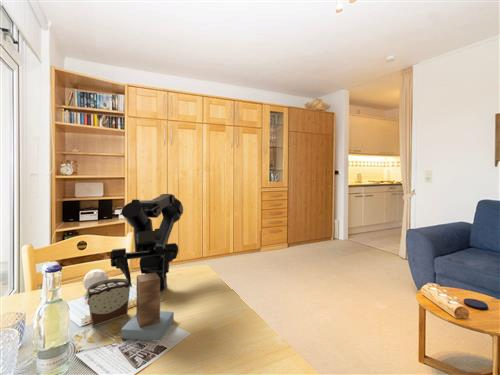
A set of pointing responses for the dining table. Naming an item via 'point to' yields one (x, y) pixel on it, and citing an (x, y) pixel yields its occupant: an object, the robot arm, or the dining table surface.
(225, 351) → the dining table surface
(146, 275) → the walnut block
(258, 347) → the dining table surface
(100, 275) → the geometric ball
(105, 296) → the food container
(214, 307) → the dining table surface
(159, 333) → the slate-blue block
